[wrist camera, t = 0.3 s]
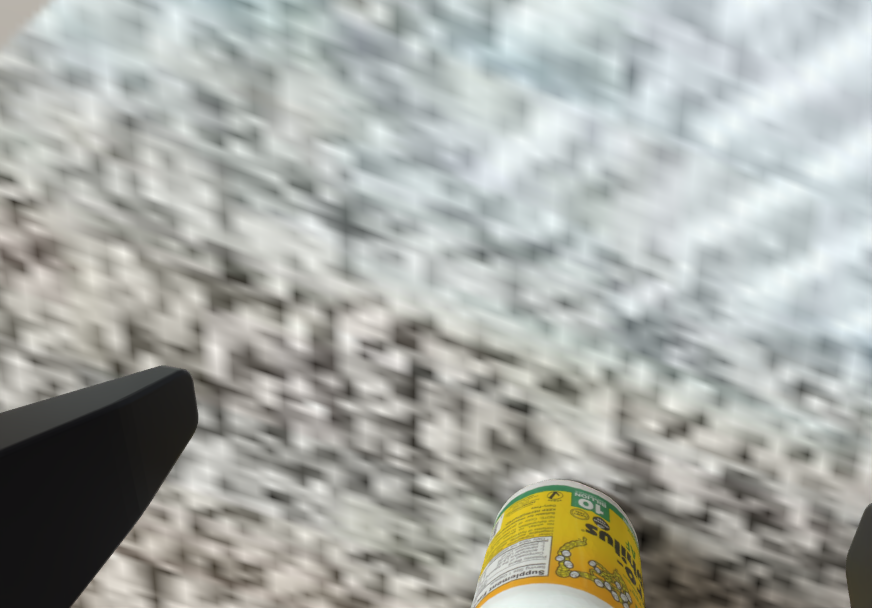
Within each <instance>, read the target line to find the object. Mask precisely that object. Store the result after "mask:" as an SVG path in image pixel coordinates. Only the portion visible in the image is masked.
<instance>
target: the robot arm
mask: <svg viewBox="0 0 872 608" xmlns="http://www.w3.org/2000/svg"><path fill="white" fill-rule="evenodd" d="M197 424H198V410H197V403H196V396H195V390H194V383H193V378H192V376H191V374H190V372H189V371H187V370H185V369H181V368H176V367H171V366H158V367H154V368H151V369H148V370H144V371H141V372H137V373H134V374H131V375H127V376H124V377H121V378H117V379H114V380H110V381H107V382H104V383H100V384H97V385H94V386H90V387H87V388H83V389H80V390H77V391H73V392H70V393H66V394H63V395H60V396H56V397H53V398H50V399H46V400H43V401H39V402H36V403H33V404H29V405H26V406H22V407H19V408H16V409H12V410H9V411H6V412H2V413H0V608H71V606H72V605H73V604H74V602H75V601H76V600H77V599H78V597H79V596H80V595H81V593H82V592H83V591H84V590H85V588H86V587H87V586H88V584H89V583H90V582H91V581H92V579H93V578H94V577H95V575H96V574H97V573H98V572H99V570H100V569H101V568H102V566H103V565H104V564H105V563H106V561H107V560H108V559H109V558H110V556H111V555H112V554H113V552H114V551H115V550H116V549H117V547H118V546H119V545H120V543H121V542H122V541H123V540H124V538H125V537H126V536H127V534H128V533H129V532H130V531H131V529H132V528H133V527H134V525H135V524H136V522H137V521H138V520H139V518H140V517H141V516H142V514H143V513H144V511H145V510H146V508H147V507H148V505H149V504H150V502H151V501H152V499H153V498H154V496H155V494H156V493H157V491H158V490H159V488H160V487H161V485H162V483H163V482H164V480H165V479H166V477H167V476H168V474H169V472H170V471H171V469H172V468H173V466H174V464H175V463H176V461H177V460H178V458H179V457H180V455H181V453H182V452H183V450H184V449H185V447H186V446H187V444H188V442H189V441H190V439H191V438H192V436H193V434H194V432H195V430H196V428H197ZM846 577H847V584H848V590H849V597H850V604H851V608H872V503H871V504H869V505H868V506H867V508H866V509H865V511H864V513H863V516H862V518H861V521H860V523H859V526H858V528H857V531H856V534H855V536H854V539H853V541H852V544H851V546H850V549H849V552H848V555H847V560H846Z"/></svg>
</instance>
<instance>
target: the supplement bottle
mask: <svg viewBox="0 0 872 608" xmlns="http://www.w3.org/2000/svg"><path fill="white" fill-rule="evenodd" d="M471 608H645V600H644V589H643V581H642V571H641V560H640V551H639V544H638V539H637V535H636V533H635V530H634V528H633V525H632V523H631V522H630V520H629V518H628V517H627V515H626V514H625V513H624V511H623V510H622V509H621V508H620V506H619V505H618V504H617V503H616V502H615V501H613V500H612V499H611V498H610V497H608V496H607V495H605V494H603V493H602V492H600V491H597V490H595V489H593V488H591V487H589V486H586V485H584V484H581V483H578V482H575V481H570V480H557V479H549V480H545V481H541V482H537V483H534V484H531V485H529V486H527V487H525V488H523V489H521V490H520V491H518V492H517V493H515V494H514V495H513V496H512V497H511V498H510V499H509V500H508V501H507V502H506V503H505V505H504V506H503V507H502V509H501V510H500V512H499V514H498V516H497V518H496V521H495V524H494V527H493V530H492V534H491V537H490V541H489V545H488V548H487V551H486V555H485V559H484V563H483V566H482V570H481V574H480V577H479V581H478V585H477V589H476V592H475V596H474V600H473V603H472V606H471Z"/></svg>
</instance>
